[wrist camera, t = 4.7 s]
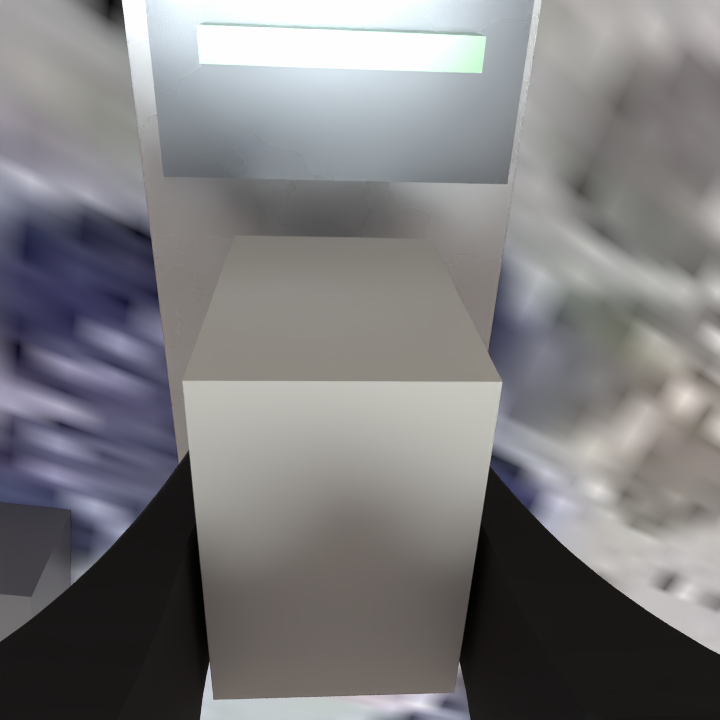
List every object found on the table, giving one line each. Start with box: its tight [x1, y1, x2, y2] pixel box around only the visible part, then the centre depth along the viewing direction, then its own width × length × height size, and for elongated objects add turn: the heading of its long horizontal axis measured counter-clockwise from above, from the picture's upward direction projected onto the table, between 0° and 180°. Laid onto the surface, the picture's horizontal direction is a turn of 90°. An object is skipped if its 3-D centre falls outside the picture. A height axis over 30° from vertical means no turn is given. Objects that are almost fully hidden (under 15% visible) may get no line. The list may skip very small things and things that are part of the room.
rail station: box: [122, 0, 541, 463], centre depth 18 cm, size 10×24×6 cm, turn 178°
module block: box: [182, 235, 502, 700], centre depth 12 cm, size 4×6×6 cm, turn 178°
